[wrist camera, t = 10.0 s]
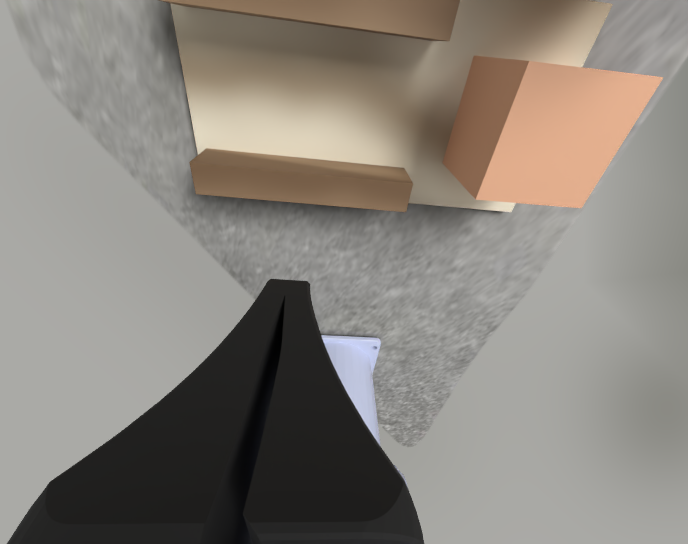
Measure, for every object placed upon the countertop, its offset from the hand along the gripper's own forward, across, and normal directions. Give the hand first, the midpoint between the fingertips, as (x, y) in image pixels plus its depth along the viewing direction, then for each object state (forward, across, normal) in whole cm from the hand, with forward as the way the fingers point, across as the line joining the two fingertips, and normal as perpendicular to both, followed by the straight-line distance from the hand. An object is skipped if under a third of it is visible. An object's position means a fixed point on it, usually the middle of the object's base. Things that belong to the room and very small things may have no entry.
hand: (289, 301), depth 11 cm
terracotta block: (+9, -10, -5) cm, 15 cm away
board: (+10, -3, -5) cm, 12 cm away
